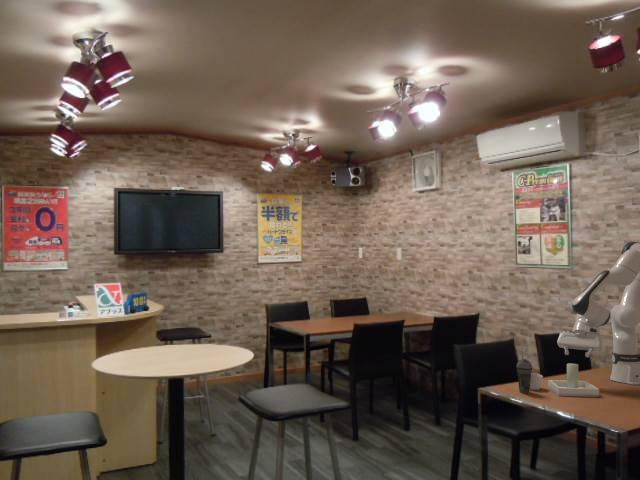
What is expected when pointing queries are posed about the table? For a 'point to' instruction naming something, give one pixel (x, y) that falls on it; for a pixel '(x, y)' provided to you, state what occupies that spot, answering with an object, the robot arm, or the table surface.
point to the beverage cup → (524, 374)
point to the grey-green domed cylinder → (572, 375)
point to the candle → (535, 381)
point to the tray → (573, 389)
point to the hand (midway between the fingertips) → (576, 355)
